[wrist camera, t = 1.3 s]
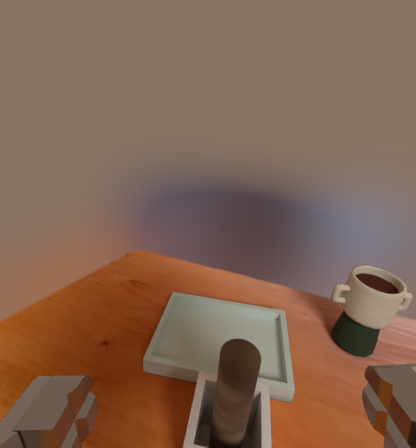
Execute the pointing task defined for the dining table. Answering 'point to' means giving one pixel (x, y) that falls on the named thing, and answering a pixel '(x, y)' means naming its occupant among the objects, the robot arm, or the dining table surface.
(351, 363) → the dining table surface
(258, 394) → the white square sleeve
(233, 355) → the walnut pin
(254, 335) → the sage tray
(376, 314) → the character mug
